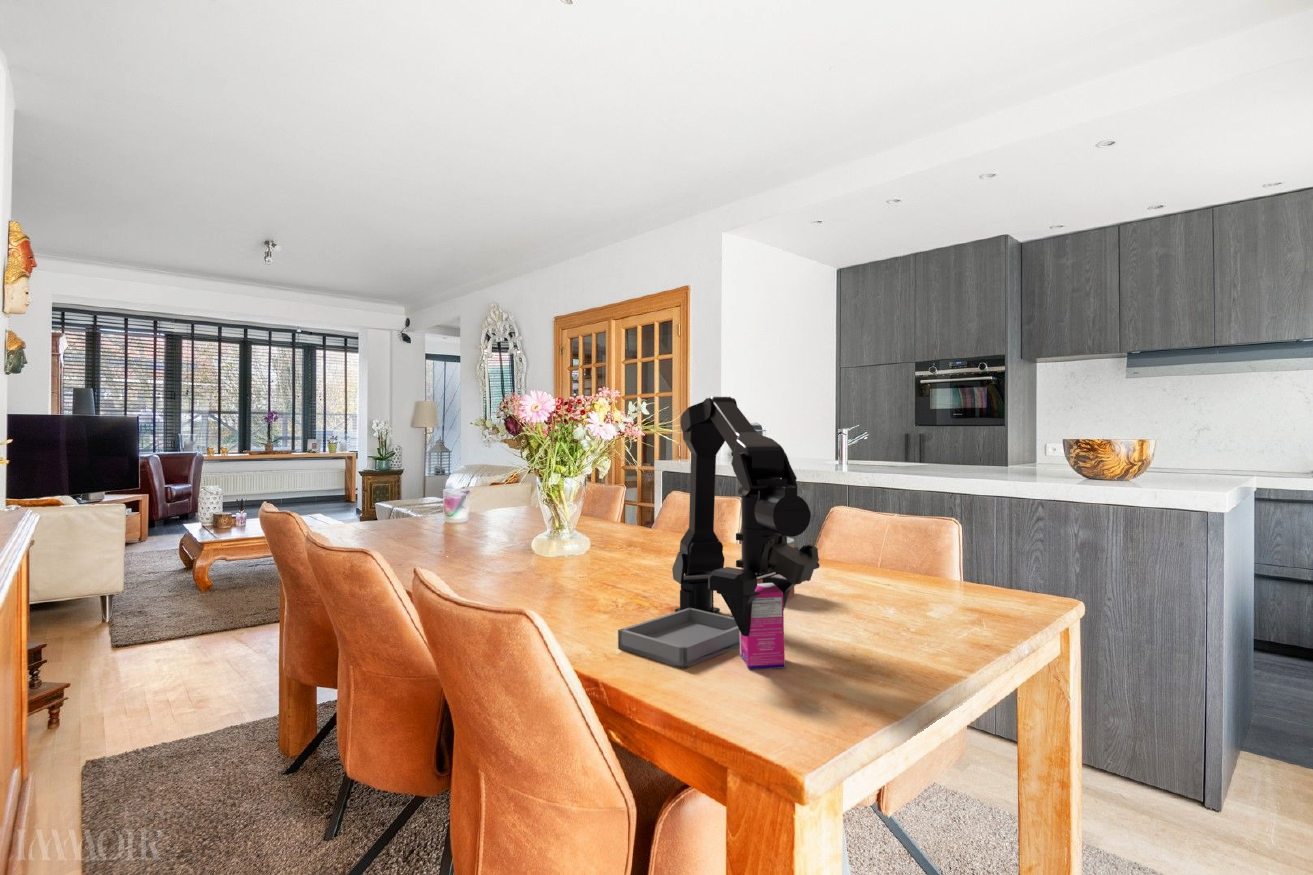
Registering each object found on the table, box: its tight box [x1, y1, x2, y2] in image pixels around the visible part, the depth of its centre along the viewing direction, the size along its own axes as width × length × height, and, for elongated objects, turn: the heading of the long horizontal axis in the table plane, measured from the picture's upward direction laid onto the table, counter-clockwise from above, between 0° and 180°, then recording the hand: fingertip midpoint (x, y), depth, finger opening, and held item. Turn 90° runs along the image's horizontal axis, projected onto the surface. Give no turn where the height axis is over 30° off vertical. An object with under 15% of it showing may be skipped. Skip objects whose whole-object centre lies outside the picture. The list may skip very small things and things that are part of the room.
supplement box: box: [739, 583, 786, 670], centre depth 100 cm, size 6×6×12 cm
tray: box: [617, 608, 740, 670], centre depth 109 cm, size 18×14×3 cm
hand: (761, 629), depth 100 cm, fingers closed on supplement box, 8 cm apart
